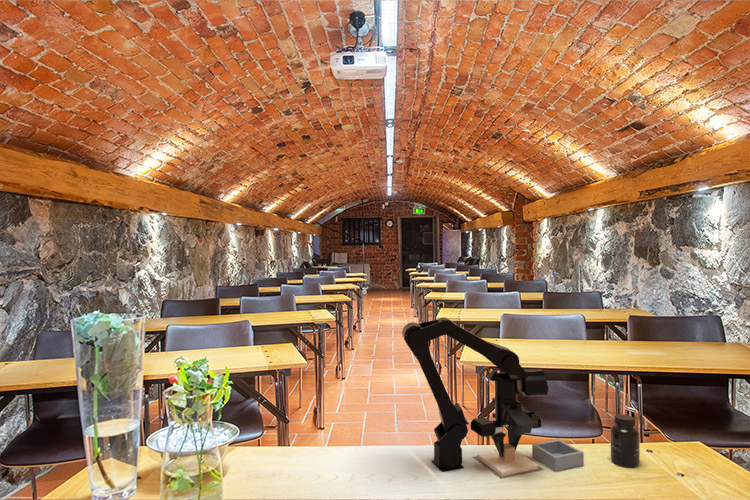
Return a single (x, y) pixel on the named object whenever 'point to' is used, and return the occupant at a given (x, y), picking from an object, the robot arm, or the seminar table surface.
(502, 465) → the lid
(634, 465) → the supplement bottle
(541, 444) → the dish
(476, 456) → the mat
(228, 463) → the seminar table surface
